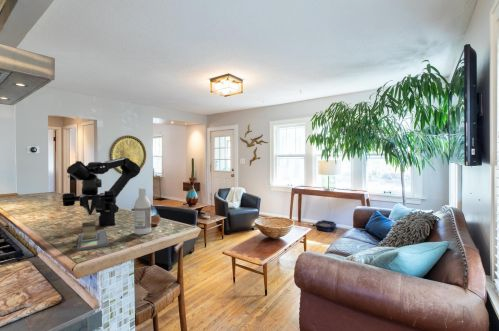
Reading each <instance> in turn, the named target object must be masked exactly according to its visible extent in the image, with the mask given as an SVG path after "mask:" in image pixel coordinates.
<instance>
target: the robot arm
mask: <svg viewBox="0 0 499 331" xmlns="http://www.w3.org/2000/svg"><path fill="white" fill-rule="evenodd" d="M118 167H119V168H120V169H121V175H120V176H119V177H118V179H117V180H116V181H115V182H114V183H113V185H112V186H111V187H110V188H109V189H108V190H104V192H100V193H99V191H98V190H99V189H98V188H102V184H103V182H102V179H101V178H99V177H98V176H97V175H103V174H105V173H108V172H109V170H111V169H116V168H118ZM140 172H141V167H140V166H139V165H138V164H137V163H136V162H134V161H132V160H130V158H129V157H119V158H115V159H110V160H106V161H90V162H88V163H87V165H85V164H84V163H83V161H81V160H76V161H75V162H74V163H72V164H71V165H70V166H68V167H67V169H66V173H67V174H69V175H70V176H72V177H73V178H74V179H75V180H77V181H82V182H81V184H82V185H81V194H79V195H77V196H76V195H75V192H65V193H63V194H62V196H61V197H62V198H61V199H62V205H63V207H73V206H74V205H75V204H76V202H79V207H83V208H84V209H85V211H86V212H87V214H88V216H91V215H93V212H94V211H95V212H96V213H99V215H98V226H100V228H101V227H108V226H115V225H116V217H115V216H116V213H117V212H119V209H120V207H119V206H118V205H117V198H118V196H119V194H120V193H121V192H122V191H123V189H124V188H125V187H126V185H127V184H128V183H129V182H130V180H132V179H134V178H136V177H137V176H138V175H139V174H140ZM98 193H99V194H98ZM89 201H91V202H89Z"/></svg>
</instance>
